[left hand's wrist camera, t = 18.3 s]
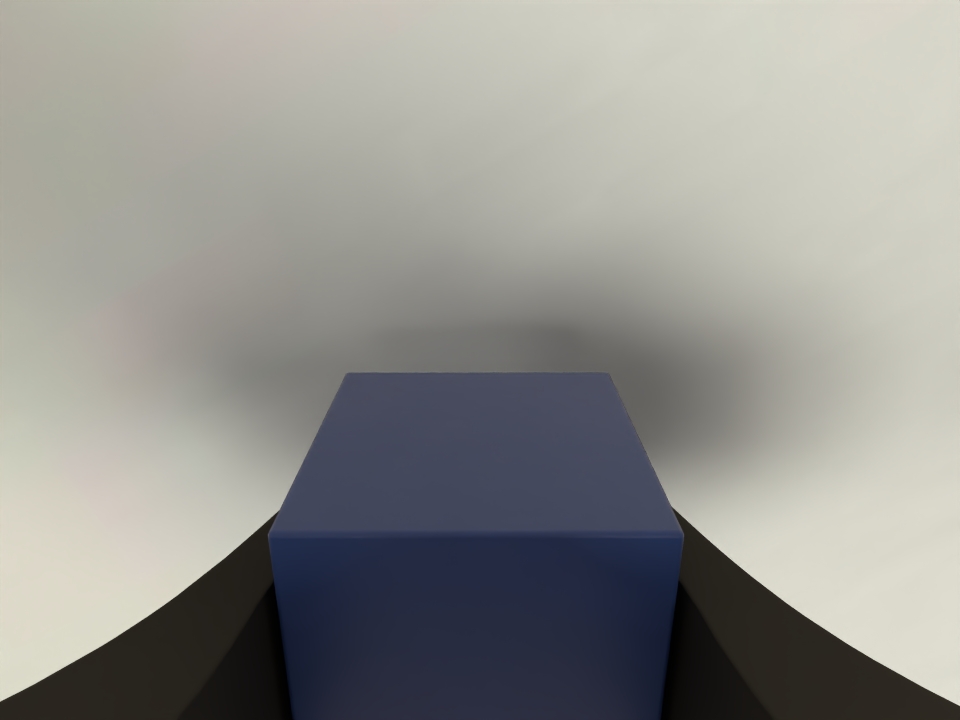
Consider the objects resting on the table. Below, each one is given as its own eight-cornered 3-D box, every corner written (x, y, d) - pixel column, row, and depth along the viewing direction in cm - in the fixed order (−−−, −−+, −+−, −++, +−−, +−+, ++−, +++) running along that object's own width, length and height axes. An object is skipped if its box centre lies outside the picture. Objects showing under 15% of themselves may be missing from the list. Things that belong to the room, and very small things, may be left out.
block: (592, 594, 13) (647, 833, 9) (362, 594, 13) (306, 834, 9) (609, 371, 12) (687, 533, 7) (345, 371, 12) (265, 533, 7)
